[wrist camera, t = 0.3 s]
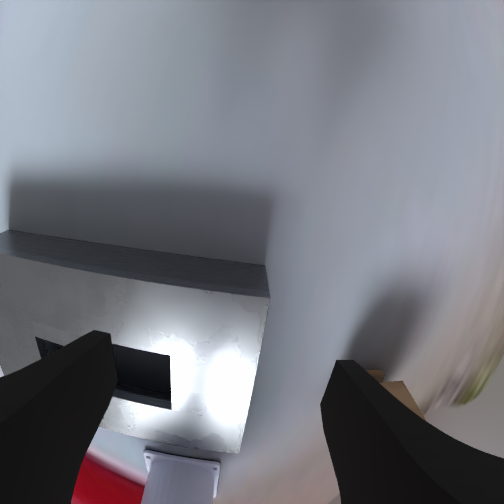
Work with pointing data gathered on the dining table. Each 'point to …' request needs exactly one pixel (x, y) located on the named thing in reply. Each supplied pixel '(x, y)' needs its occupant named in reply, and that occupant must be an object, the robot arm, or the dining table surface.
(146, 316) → the grey slotted base block
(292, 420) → the dining table surface
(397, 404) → the robot arm
